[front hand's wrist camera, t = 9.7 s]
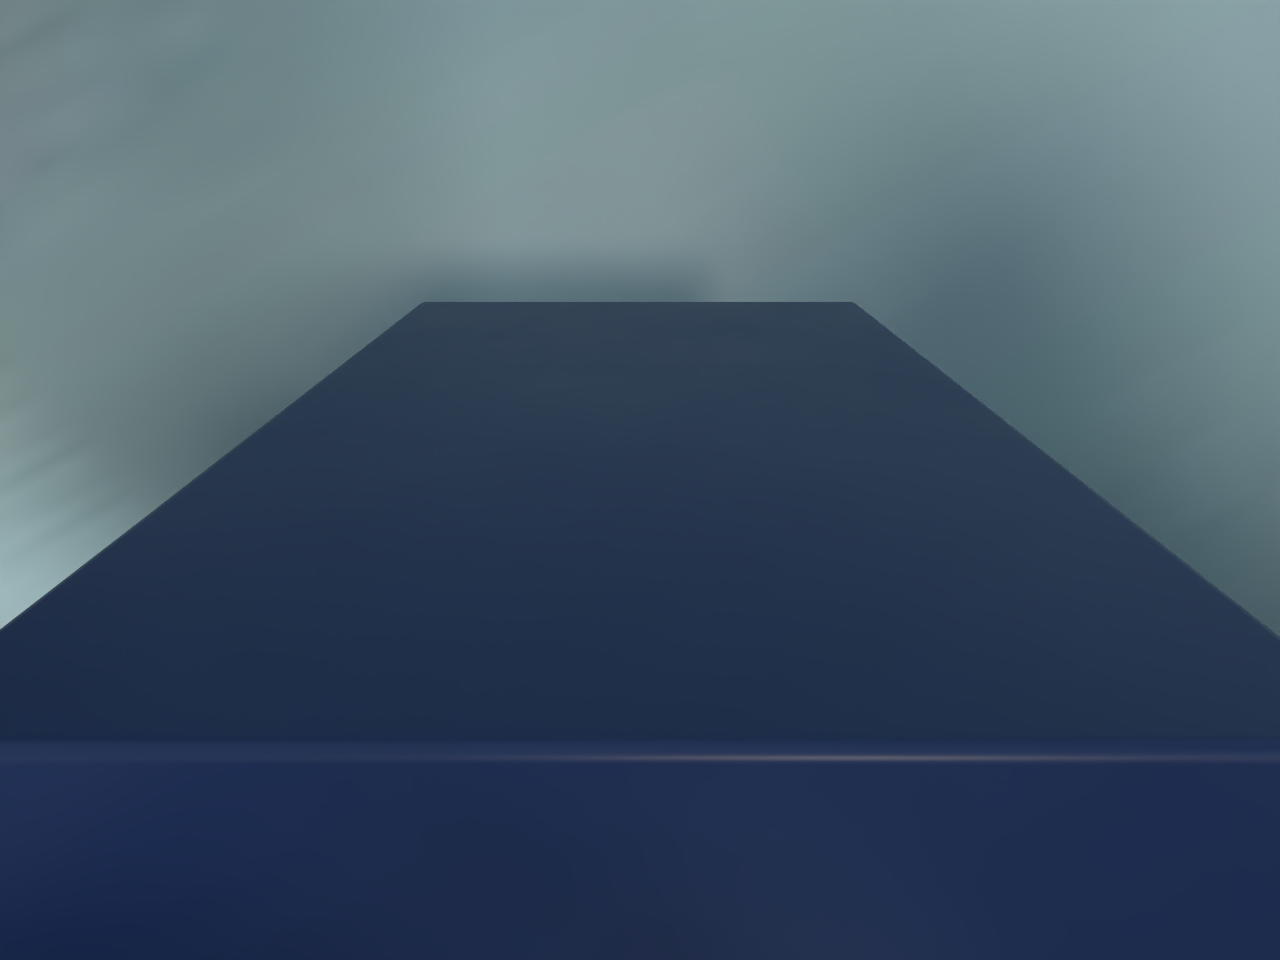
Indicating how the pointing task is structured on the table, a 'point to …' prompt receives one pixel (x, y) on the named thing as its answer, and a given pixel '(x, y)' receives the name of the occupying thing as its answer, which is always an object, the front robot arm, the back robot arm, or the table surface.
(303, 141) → the table surface
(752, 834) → the box
